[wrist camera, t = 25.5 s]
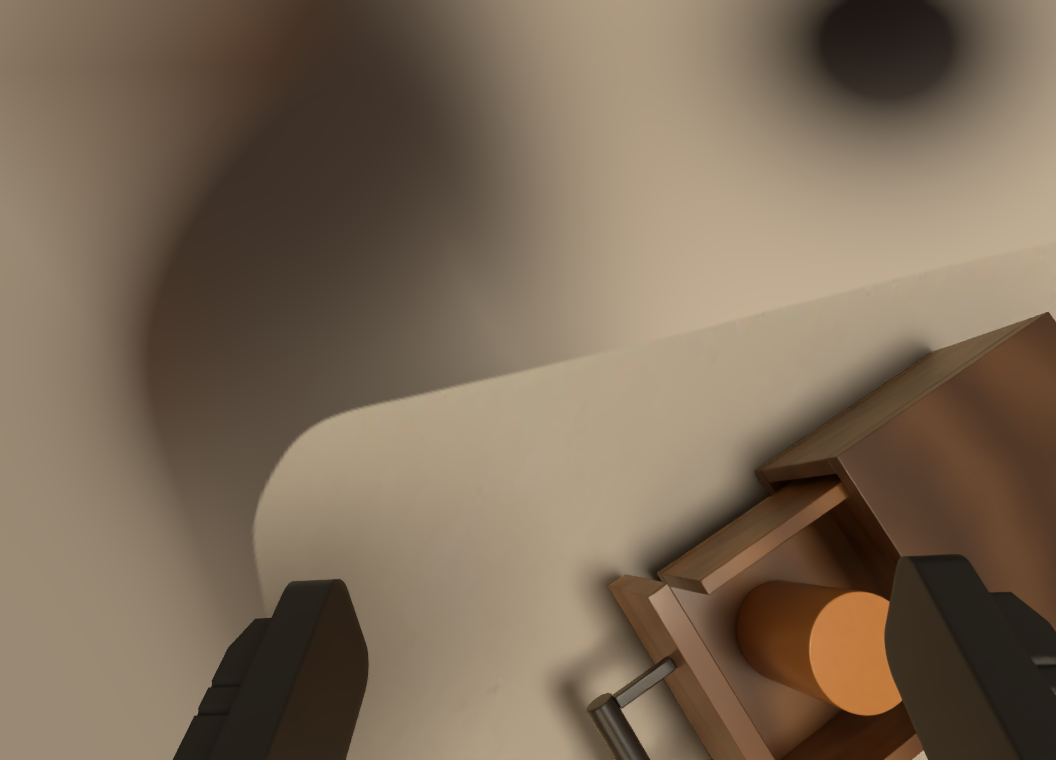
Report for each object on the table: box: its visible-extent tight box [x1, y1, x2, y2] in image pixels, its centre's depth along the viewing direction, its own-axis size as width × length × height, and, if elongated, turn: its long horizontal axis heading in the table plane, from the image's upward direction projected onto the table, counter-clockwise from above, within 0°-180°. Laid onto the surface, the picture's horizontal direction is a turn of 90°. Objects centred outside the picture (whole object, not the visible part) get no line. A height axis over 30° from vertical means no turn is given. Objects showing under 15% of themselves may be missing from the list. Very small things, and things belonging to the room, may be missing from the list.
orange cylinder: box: [737, 580, 902, 716], centre depth 36 cm, size 5×5×8 cm
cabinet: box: [754, 312, 1056, 631], centre depth 40 cm, size 15×15×9 cm
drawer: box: [586, 474, 924, 760], centre depth 37 cm, size 18×14×7 cm
